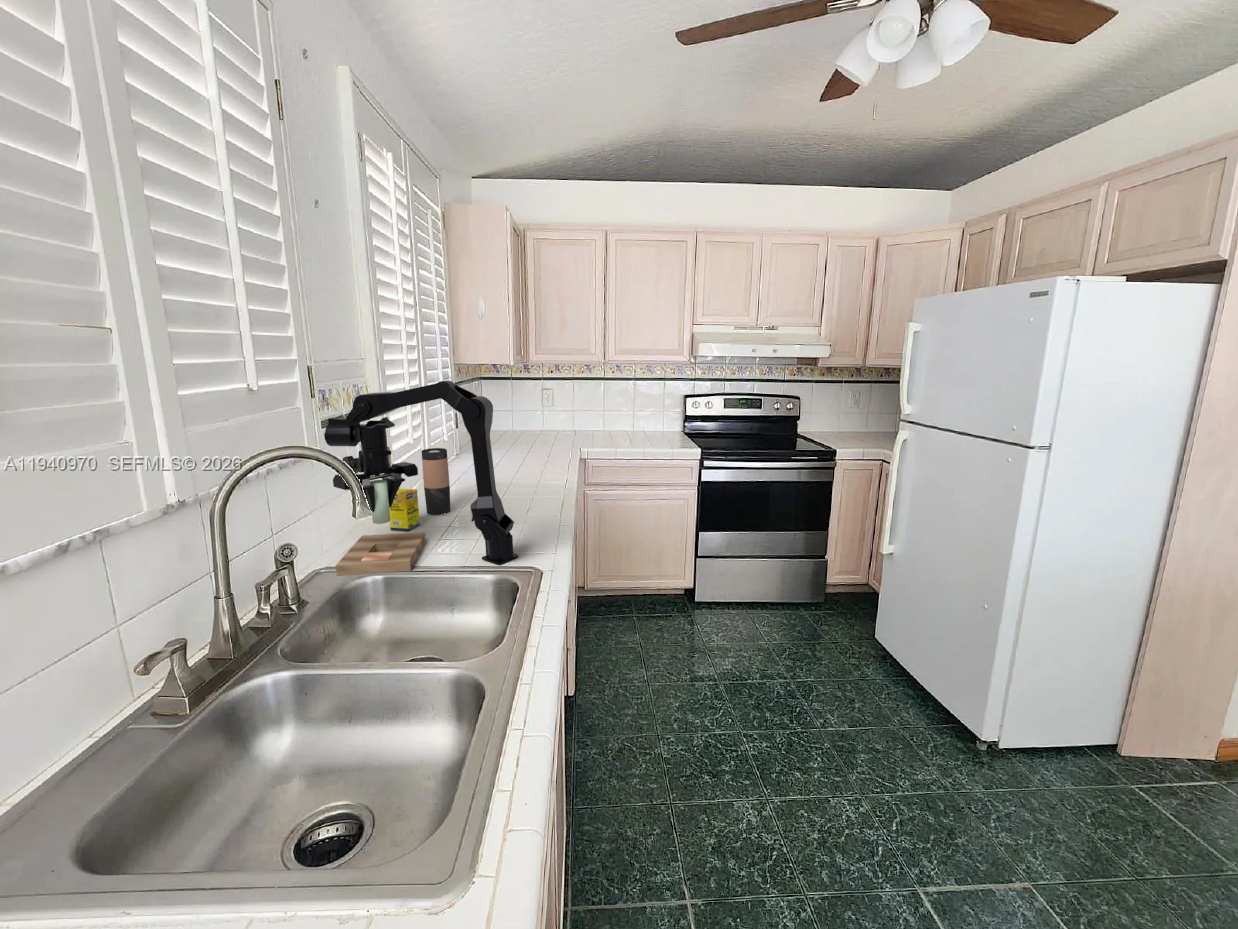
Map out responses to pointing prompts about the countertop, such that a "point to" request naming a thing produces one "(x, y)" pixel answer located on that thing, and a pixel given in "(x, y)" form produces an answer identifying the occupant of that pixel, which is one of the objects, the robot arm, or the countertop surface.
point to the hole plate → (382, 554)
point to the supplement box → (404, 510)
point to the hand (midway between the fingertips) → (380, 509)
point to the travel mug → (436, 480)
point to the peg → (381, 502)
